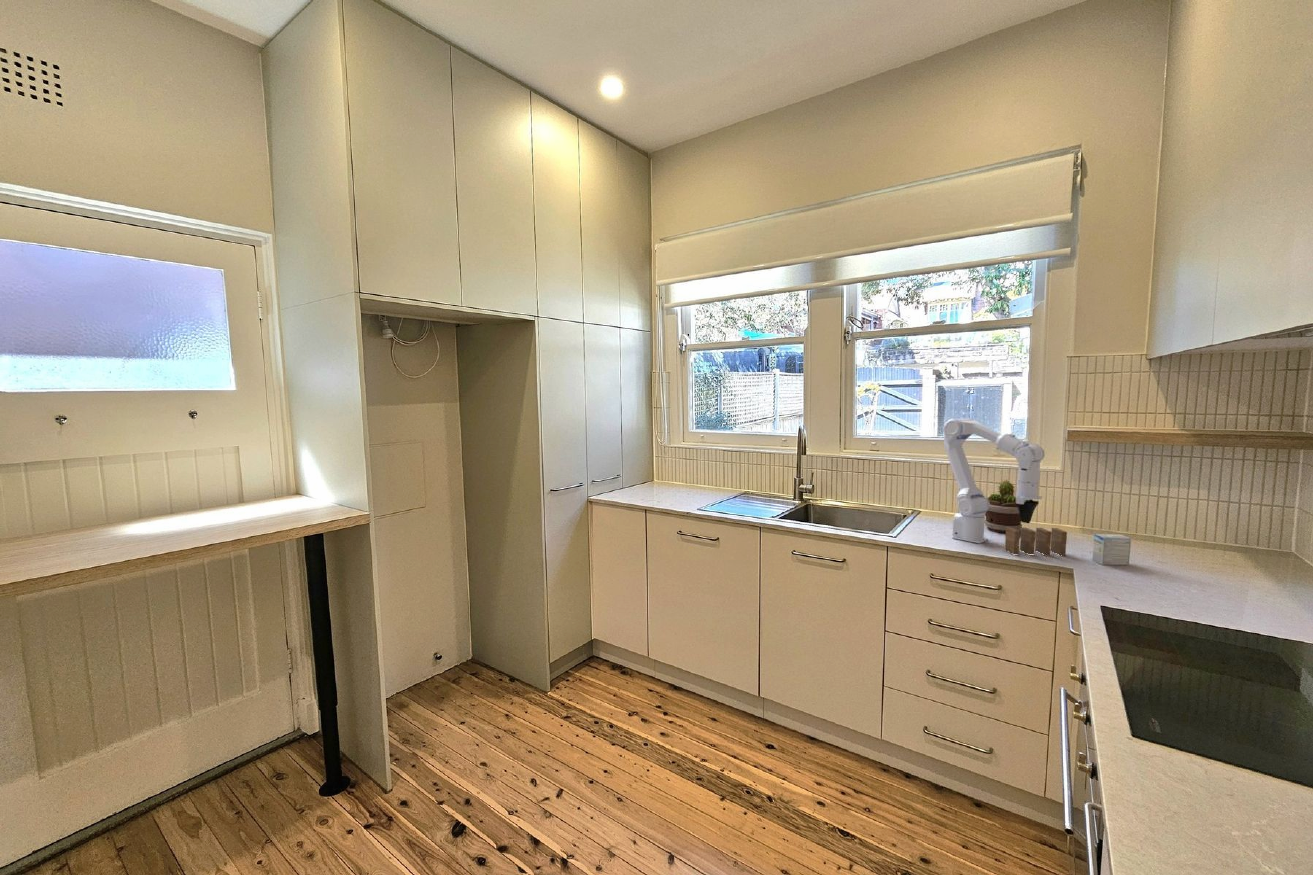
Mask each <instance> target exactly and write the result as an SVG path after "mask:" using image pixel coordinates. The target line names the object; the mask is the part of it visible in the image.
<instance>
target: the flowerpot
mask: <svg viewBox="0 0 1313 875" xmlns="http://www.w3.org/2000/svg"><path fill="white" fill-rule="evenodd" d="M997 489H999V490H997V491H995V492H994V493H990V496H989V497H988V496H987V497H986V498H987V499H988V501H989V503H990V508H989V510H988V511H987V512H986V513H985V522H984V526H986V528H987V529H988V530H989V531H992V532H995V533H1002V534H1006V527H1011V528H1014V529H1016V530H1018V531H1021V528H1023V524H1022V522H1021V519H1020V514H1019V510H1018V507H1017V505H1016V504H1015V501H1016V498H1017V497H1016V496H1015V495H1016V486H1015V484H1013V482H1011V481H1010V480H1009V479H1007V477H1006V480H1005V479H1003V480H1002V481H1001V482H1000V483H999V485H998V486H997ZM996 492H997V493H996Z"/></svg>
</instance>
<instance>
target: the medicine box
mask: <svg viewBox="0 0 1313 875" xmlns="http://www.w3.org/2000/svg"><path fill="white" fill-rule="evenodd" d="M1131 546H1132V538H1130V537H1128V536H1125V535H1123V534H1113V533H1112V534H1109V533H1108V534H1105V533H1104V534H1103V533H1098V534H1097V533H1096V534H1093V547H1092V562H1095V563H1097V564H1099V565H1102V566H1103V565H1104V566H1106V565H1107V566H1129V565H1130V558H1131V557H1130V556H1131V548H1132V547H1131Z"/></svg>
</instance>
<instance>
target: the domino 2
mask: <svg viewBox="0 0 1313 875" xmlns="http://www.w3.org/2000/svg"><path fill="white" fill-rule="evenodd" d="M1035 542H1036V530H1032V529H1030V528H1027V527H1022V528H1021V529H1020V540H1019V551H1020V550H1021V551H1024V552H1025V553H1028V554H1034V555H1035ZM1021 551H1020V552H1021ZM1025 553H1024V554H1025Z"/></svg>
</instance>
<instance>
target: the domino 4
mask: <svg viewBox="0 0 1313 875" xmlns="http://www.w3.org/2000/svg"><path fill="white" fill-rule="evenodd" d="M1050 532H1051V543H1050V552H1051V551H1052V552H1051V553H1053V552H1054V553H1053V554H1055V553H1057V554H1059V555H1060V556H1059V555H1058V556H1059V557H1064V556H1063V555H1065V556H1066V554H1067V553H1066V551H1067V537H1068V536H1067V534H1068V531H1065V530H1062V529H1061V528H1058V527H1051V531H1050ZM1057 554H1056V555H1057ZM1061 555H1062V556H1061Z"/></svg>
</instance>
